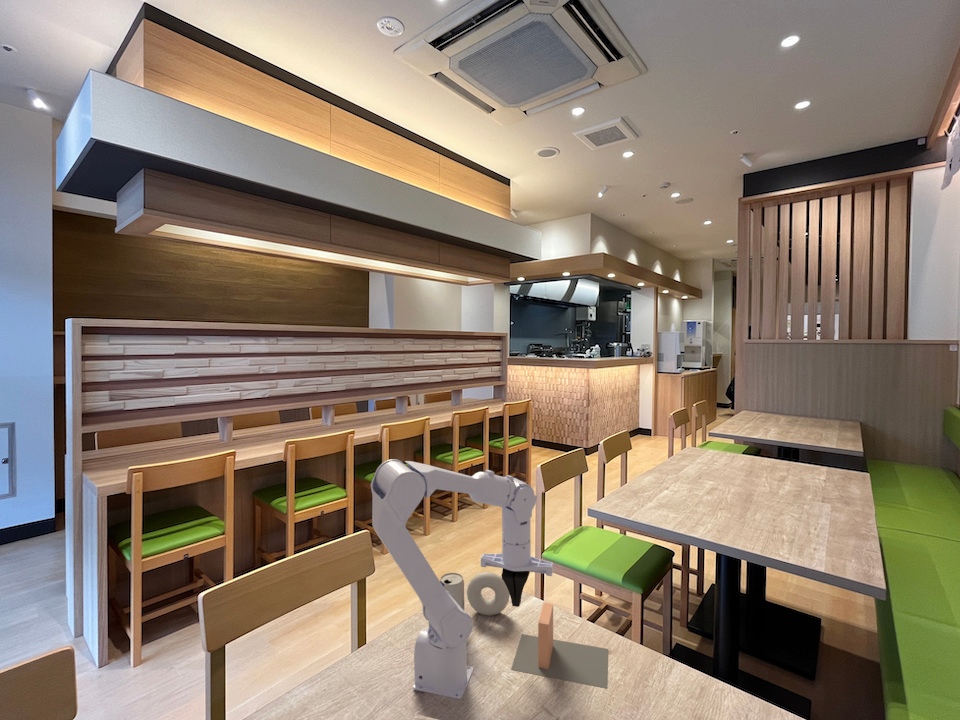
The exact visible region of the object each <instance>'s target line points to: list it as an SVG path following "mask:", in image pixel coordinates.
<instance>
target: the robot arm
mask: <svg viewBox="0 0 960 720" xmlns="http://www.w3.org/2000/svg"><path fill="white" fill-rule="evenodd" d="M404 462H405V463H406V464H407V465H406V464H405V463H404ZM404 462H403V461H401V460H399V459H395V458H393V459H392V458H391V459H386V460H385V461H383V462H381V464H380V465H378V467H377V468H376V470H375V472H374V476H373V478H372V479H371V482H370V489H371V494H372V495H371V497H372V503H371V504H372V505H371V507H372V510H371V511H372V512H371V513H372V515H371V517H372V519H371V524H372V528H373V530H374V531H375V533H376V534H377V536H378V538H379V539H380V541H381V542H382V544H383V546H384V547H385V548H386V550H387V551H388V553H389V555H390V556H391V557H392V559H393V560H394V562H395V564H396V565H397V567H398V568H399V569H400V571H401V573H402V574H403V575H404V577H405V578H406V580H407V583H408V584H409V585H410V587H411V588H412V589H413V591H414V592H415V594H416V596H417V597H418V599H419V601H420V603H421V605H422V615H423V617H424V619H425V620H426V621H428V628H422V629H420V631H419V633H418V636H417V638H416V640H415V645H414V652H413V653H414V654H413V657H414V658H413V660H414V661H413V663H414V667H413V668H414V670H413V671H414V684H413V685H412V689H413V690H414V691H418V692H422V693H430V694H435V695H438V696H443V697H448V698H451V699H452V698H453V699H458V700H461V699H462V698H463V696H464V694H465V692H466V689H467V687H468V684H469V682H470V679H471V677H472V675H473V672H474V669H475V668H474V667H473V666H469V665H467V663H468V661H467V655H468V654H467V653H468V652H467V640H468V639H469V638H470V636H471V634H472V631H473V625H474V624H473V619H472V618H471V616H470V615H469V613H467V612H465V609H464V610H463V609H462V608H461V607H460V606H459V605H458V603H457V602H456V601H455V600H454V599H453V598H452V596H451V594H450V593H449V592H448V591H446V590H445V589H444V587H443V585H442V584H441V582H440V579H439V577H438V576H437V575H436V573H435V571H434V570H433V568H432V567H431V565H430V563H429V561H428V560H427V559H426V557H425V555H424V553H423V551H422V550H421V549H420V547H419V545H417V543H416V541H415V540H414V538H413V536H412V535H411V534H410V531H409V530H408V529H407V527H406V525H407V522H408V520H409V519H410V517H411V516H412V515H413V513H414V512H415V510H416V509H417V507H418V506H419V504H420V503H421V501H422V500H423V498H424V497H425V498H426V499H428V498H430V496H432V494H433V493H434V492H435V491H436V490H439V491H440V490H441V491H447V492H448V491H449V492H454V493H460V494H468V495H469V497H470V499H471V500H472V502H474V503H480V504H483V505H484V504H485V505H489V506H495V507H499V508H501V530H502V531H501V537H502V538H501V551H502V552H501V553H482V555H481V556H480V567H482V568H487V567H492V568H500V569H502V572H501V577H502V579H503V581H504V583H505V584H506V586H507V588H508V591H509V594H510V596H509V598H510V600H511V606H512V607H515V608H516V607H517V608H520V606H521V602H522V596H523V590H524V587H525V585H526V584H527V581H528V579H529V576H530V573H538V574H545V575H546V576H547V577H553V573H554V562H552V561H548V560H544V559H542V558H541V559H540V558H538V557H534V556H531V553H532V552H531V544H532V543H531V542H532V541H531V519H532V517H533V516H532V515H533V513H532V511H533V509H534V507H535V505H536V504H537V498H538V496H537V495H535V491H534V489H533V487H532V486H531V485H530V484H527V483H526V482H524V481H523V480H520V479H518V478H516V477H513V476H512V475H509V474H507V475H506V476H501V475H497V474H495V472H494V471H493V470H490V469H485V471H478V472H475V473H474V474H473V475H467V474H464V473H461V472H460V473H459V472H456V471H452V470H449V469H446V468H441V467H437V466H435V465H431V464H430V465H429V464H426V463H421V462H416V461H411V460H405V461H404Z"/></svg>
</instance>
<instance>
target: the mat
mask: <svg viewBox="0 0 960 720" xmlns="http://www.w3.org/2000/svg"><path fill="white" fill-rule="evenodd" d="M608 665H609V648H605V647H599V646H595V645H594V646H593V645H588V644H583V643H576V642H570V641H564V640H558V639H554V638H553V649H552V654H551V660H550V665H549V669H545V668H539V667H538V636H536V635H530V634H524V633H521V635H520V639H519V642H518V645H517V649H516V652H515V655H514V657H513V662H512V666H511V668H510V670H511V671H515V672H520V673H525V674H530V675H536V676H541V677H547V678H551V679H556V680H562V681H567V682H571V683H576V684H577V683H578V684H582V685H586V686H592V687H595V688H602V689H608V676H609V675H608V674H609V673H608V672H609V671H608V669H609V666H608Z"/></svg>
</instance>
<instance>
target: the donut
mask: <svg viewBox="0 0 960 720" xmlns="http://www.w3.org/2000/svg"><path fill="white" fill-rule="evenodd" d="M485 588H486V589H487V588H488V589H491V590H492V591H493V593H494V597H493V598H491V599H490V598H489V599H487V598H485V597H483V594H482V590H484V589H485ZM466 596H467V597H466V598H467V601H468V602H469V605H470V607H471V608H472V609H473V610H474V611H476V612H477V613H478V614H480V615H483V616H487V617H488V616H489V617H490V616H497V614H501V612H503V611H504V610H505V609H506V608H507V606H508V604H509V601H510V594H509V591H508V588H507V586H506V584H505V583H504V581H503V579H502V575H499V574H498V573H495V572H493V571H492V572H491V571H483V572H480V573H478V574H475V575H474V576H473V577H471V579H470V580H469V583H468V585H467V589H466Z"/></svg>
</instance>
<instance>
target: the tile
mask: <svg viewBox="0 0 960 720" xmlns="http://www.w3.org/2000/svg"><path fill="white" fill-rule="evenodd" d="M537 629H538V630H537V632H538V633H537V635H538V636H537V637H538V667H539V668H545V669H549V665H550V660H551V654H552V649H553V639H554V603H549V602H548V603H547V602H543V604H542V608H541V611H540V615H539V619H538V622H537Z"/></svg>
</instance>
